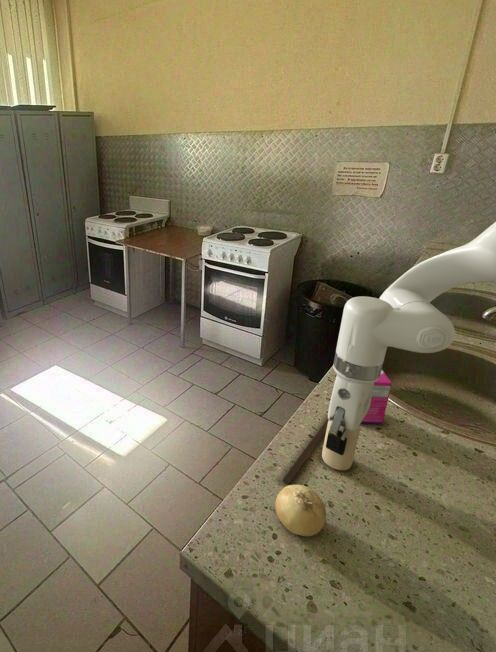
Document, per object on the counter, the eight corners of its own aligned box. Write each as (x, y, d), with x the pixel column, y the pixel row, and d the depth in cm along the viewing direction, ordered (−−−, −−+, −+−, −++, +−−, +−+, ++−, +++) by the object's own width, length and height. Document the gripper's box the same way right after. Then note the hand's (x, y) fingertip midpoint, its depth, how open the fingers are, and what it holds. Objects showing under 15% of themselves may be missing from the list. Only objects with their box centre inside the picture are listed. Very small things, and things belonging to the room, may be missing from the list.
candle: (321, 465, 78) (328, 425, 74) (322, 446, 83) (329, 408, 79) (352, 474, 76) (361, 434, 72) (351, 454, 81) (360, 415, 77)
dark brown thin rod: (334, 420, 90) (335, 417, 90) (288, 484, 75) (289, 482, 74) (329, 417, 91) (329, 415, 91) (282, 481, 75) (282, 479, 75)
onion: (264, 509, 70) (268, 480, 67) (299, 494, 73) (304, 466, 70) (296, 551, 63) (301, 520, 60) (334, 533, 66) (341, 503, 63)
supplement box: (346, 406, 94) (354, 366, 90) (372, 408, 94) (382, 367, 89) (354, 423, 89) (364, 381, 85) (383, 425, 88) (394, 383, 84)
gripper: (365, 395, 63) (345, 479, 70) (393, 352, 74) (374, 428, 81) (317, 377, 68) (303, 456, 74) (351, 339, 79) (336, 411, 86)
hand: (340, 441), depth 78 cm, fingers closed on candle, 5 cm apart
